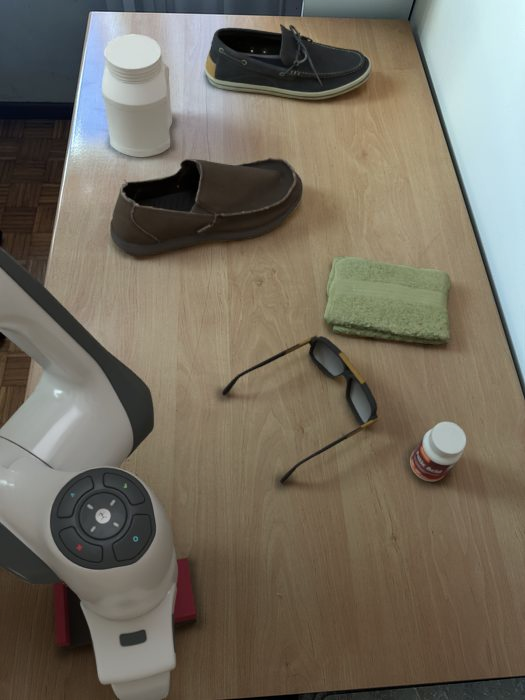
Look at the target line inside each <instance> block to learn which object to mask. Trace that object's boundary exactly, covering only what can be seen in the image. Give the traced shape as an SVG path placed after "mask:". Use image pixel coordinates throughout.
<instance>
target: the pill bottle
mask: <svg viewBox="0 0 525 700" xmlns="http://www.w3.org/2000/svg"><path fill="white" fill-rule="evenodd" d="M466 446H467V436H466V433H465V431H464V430H463V429H462V427H461V426H459V425H458V424H457V423H454V422H452V421H441V422H438V423H437V424H436V425H434V427H432V428H431V429H429V430H427V432H426V433H425V434H424V435H423V437H422V438H421V439H420V441H419V443H418V444H417V445H416V447H415V448H414V450H413V451H412V453H411V454H410V458H409V463H410V468H411V470H412V472H413V473H414V474H415V475H416V476H417V477H418V478H419V479H421V480H422V481H425V482H430V483H431V482H432V483H433V482H437V481H440V480H441V479H443V478H444V477H445V476H446V475H447V473H449V472H450V470H452V469H453V467H454V466H455V465H456V463H457V462H458V461H459V460H460V459H461V458H462V455H463V452H464V449H465V448H466Z"/></svg>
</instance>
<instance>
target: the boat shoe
mask: <svg viewBox="0 0 525 700" xmlns="http://www.w3.org/2000/svg"><path fill="white" fill-rule="evenodd" d="M279 27H280V32H281V33H280V32H274V31H268V30H261V29H253V28H242V27H221V28H219V29H217V30H216V31H215V32H214V33H213V36H212V40H211V43H210V47H209V51H208V54H207V56H206V60H205V63H204V71H205V74H206V77H207V80H208V81H209V82H210V84H212V86H214V87H216V88H218V89H222V90H228V91H236V92H246V93H247V92H248V93H255V94H263V95H270V96H276V97H282V98H288V99H289V98H290V99H297V100H310V101H317V100H326V99H330V98H334V97H338V96H341V95H343V94H346V93H349V92H351V91H353V90H356V89H357V88H359V87H360V86H362V85H363V84H364V83H366V82H367V80H369V78H370V76H371V73H372V67H373V66H372V62H371V59H370V58H369V57H368V56H367V55H366V54H364V53H362V52H361V51H359V50H357V49H351V48H343V47H337V46H332V45H328V44H325V43H320V42H316V41H314V40H313V39H312V38H310V37H308V36H305V35H303V34H301V32H299V31H298V30H297V28H296V27H295V26H294V25H293V24H289V25H288V27H289V28H287V27H286V26H284V25H283V24H282V23H280V24H279Z"/></svg>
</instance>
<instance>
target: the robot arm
mask: <svg viewBox="0 0 525 700" xmlns="http://www.w3.org/2000/svg"><path fill="white" fill-rule="evenodd" d="M0 333H2V335H4V336H5V338H7V339H8V340H10V341H11V342H12V343H13V344H14V345H15V346H17V347H18V348H19V349H20V350H21V351H22V352H23V353H25V354H26V355H27V356H28V357H30V358H31V359H32V360H33V361H34V362H35V363H37V364H38V365H39V366H40V367H41V368H42V372H41V376H40V379H39V380H38V383H37V385H36V387H35V389H34V390H33V391H32V393H31V394H30V395H29V396H28V398H27V399H26V400H25V401H24V402H23V403H22V404H21V405H20V406H19V407H18V409H17V410H16V411H15V412H14V413H13V414H12V415H11V417H9V419H8V420H7V421H6V422H5V423H4V424H3V425H2V427H1V428H0V568H2V569H3V570H4V571H6V572H8V573H9V574H10V575H12V576H14V577H16V579H19V580H21V581H23V582H24V583H27V584H29V585H40V586H41V585H43V586H44V585H54V584H60V583H62V581H63V583H64V584H65V585H66V586H67V587H70V588H71V589H72V590H73V591H74V592H75V593H76V594H77V596H78V597H79V598H80V600H81V601H80V605H81V608H82V610H83V613H84V615H85V618H86V620H87V623H88V626H89V629H90V636H91V641H92V644H91V645H92V651H93V657H94V663H95V664H94V665H95V668H96V670H97V671H96V672H97V677H98V680H99V682H100V684H101V685H110V686H111V688H112V691H113V693H114V695H115V696H116V697H117V699H119V700H163V699H165V698H167V696H168V695H169V691H170V685H171V684H170V683H171V671H172V670H174V669H175V668H176V666H177V657H176V653H177V646H176V634H175V633H176V631H175V626H174V606H175V600H176V593H177V587H176V584H177V578H178V565H177V560H178V559H177V553H176V548H175V544H174V535H173V529H172V524H171V522H170V518H169V515H168V514H167V511H166V509H165V507H164V505H163V504H162V502H161V500H160V498H159V497H158V496H157V494H156V493H155V492H154V491H153V489H152V488H151V486H149V485H148V484H147V483H146V482H145V481H144V480H143V479H141V478H140V477H139V476H137V475H136V474H134V473H133V472H131V471H129V470H126V469H124V468H122V467H121V466H122V464H124V462H125V461H126V459H128V458H129V457H130V456H131V455H132V454H133V453H134V452H135V451H136V450H137V448H138V447H140V445H141V444H142V443H143V442H144V441H145V439H147V437H148V436H150V434H151V433H152V432H153V430H154V427H155V412H154V411H155V410H154V402H153V397H152V392H151V389H150V388H149V386H148V385H147V384H146V383H145V381H144V380H143V379H142V378H141V377H140V376H139V375H137V373H135V372H134V371H133V370H132V369H130V368H129V367H128V366H127V365H126V364H125V363H123V361H121V360H119V359H118V358H117V357H116V356H115V355H114V354H112V353H111V352H110V351H109V350H108V349H107V348H106V347H104V346H103V345H102V344H101V343H100V342H99V341H98V340H97V339H96V338H95V337H94V336H93V335H92V334H91V333H90V332H89V331H88V329H86V328H85V327H84V325H82V324H81V322H79V321H78V320H77V319H76V318H75V316H73V314H72V313H71V312H70V311H69V310H68V309H67V308H66V307H65V306H64V305H63V304H62V303H61V302H60V301H59V300H58V299H57V298H56V297H55V296H54V295H53V293H51V292H50V291H49V290H48V289H47V288H46V287H45V286H44V285H43V284H42V282H40V281H39V280H38V279H37V278H36V277H35V276H34V275H33V274H32V273H31V272H30V271H29V270H28V269H26V268H25V267H24V266H23V265H22V264H21V263H20V262H19V261H18V260H17V259H16V258H14V256H13V255H11V254H10V253H9V252H8V251H6V249H4V248H3V247H1V246H0Z"/></svg>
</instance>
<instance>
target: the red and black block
mask: <svg viewBox="0 0 525 700" xmlns="http://www.w3.org/2000/svg"><path fill="white" fill-rule="evenodd" d="M177 565H178V578H177V584H176V587H177V593H176V600H175V606H174V627H178V626H182V625H188V624H191V623H196V622H197V612H196V611H197V610H196V605H195V598H194V592H193V584H192V577H191V572H190V565H189V559H188V557H184V558H179V559H177ZM52 586H53V587H52V588H53V606H54V626H55V629H54V630H55V642H56V643H55V644H56V645H57V646H59V647H60V648H61V649H62V650H67V649H68V650H69V649H72V648H77V647H82V646H87V645H92V641H91V636H90V629H89V626H88V623H87V620H86V618H85V615H84V613H83V610H82V608H81V605H80V601H81V600H80V598H79V597H78V596H77V594H76V593H75V592H74V591H73V590H72V589H71V588H70V587H69V586H67V585H66V584H65V583H64V582H59V583H55V584H52Z"/></svg>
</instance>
